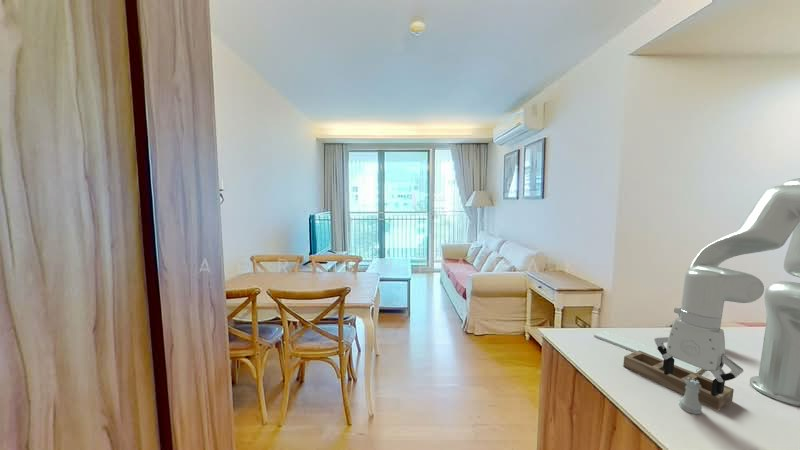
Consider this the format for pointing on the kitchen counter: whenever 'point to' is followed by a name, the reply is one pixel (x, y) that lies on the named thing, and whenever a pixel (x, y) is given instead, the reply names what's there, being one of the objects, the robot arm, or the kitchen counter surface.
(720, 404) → the rack
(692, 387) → the rook chess piece
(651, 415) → the kitchen counter surface
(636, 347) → the baseboard
